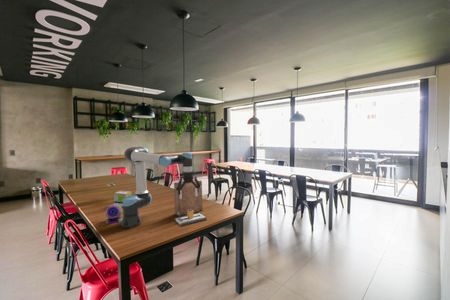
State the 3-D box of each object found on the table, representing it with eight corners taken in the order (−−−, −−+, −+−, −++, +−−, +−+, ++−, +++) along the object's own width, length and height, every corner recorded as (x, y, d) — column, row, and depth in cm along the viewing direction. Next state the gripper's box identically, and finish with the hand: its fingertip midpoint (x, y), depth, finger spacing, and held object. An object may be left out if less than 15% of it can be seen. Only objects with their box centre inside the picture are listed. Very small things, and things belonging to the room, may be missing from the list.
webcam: (104, 224, 182) (103, 207, 181) (108, 219, 194) (107, 202, 193) (121, 222, 185) (120, 205, 185) (123, 217, 198) (123, 201, 197)
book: (197, 208, 220) (196, 179, 219) (202, 210, 213) (201, 180, 212) (174, 214, 204) (173, 182, 202) (179, 216, 197) (178, 184, 195)
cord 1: (174, 219, 190) (174, 217, 190) (197, 214, 203) (197, 212, 202) (174, 220, 189) (174, 218, 189) (198, 214, 201) (198, 213, 201)
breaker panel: (175, 220, 187) (175, 218, 187) (199, 215, 199) (199, 213, 199) (180, 225, 178) (180, 222, 178) (205, 219, 190) (205, 216, 190)
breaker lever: (187, 217, 189) (187, 209, 189) (191, 216, 191) (191, 208, 191) (189, 218, 186) (189, 210, 185) (193, 217, 188) (193, 209, 187)
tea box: (114, 206, 231) (113, 192, 230) (121, 203, 241) (120, 190, 240) (125, 207, 227) (125, 193, 226) (132, 204, 236) (131, 191, 235)
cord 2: (180, 225, 177) (180, 223, 177) (205, 219, 189) (205, 217, 189) (181, 226, 175) (181, 224, 175) (206, 219, 188) (206, 218, 188)
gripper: (174, 173, 164) (175, 201, 165) (203, 170, 177) (204, 195, 178) (171, 172, 171) (172, 198, 172) (200, 169, 183) (200, 194, 184)
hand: (188, 197), depth 175 cm, fingers open, 13 cm apart
